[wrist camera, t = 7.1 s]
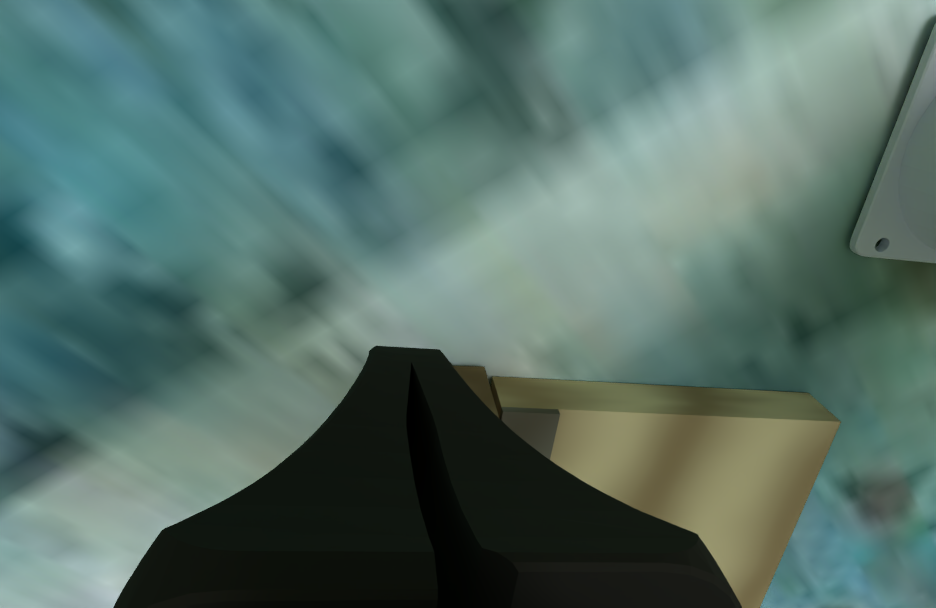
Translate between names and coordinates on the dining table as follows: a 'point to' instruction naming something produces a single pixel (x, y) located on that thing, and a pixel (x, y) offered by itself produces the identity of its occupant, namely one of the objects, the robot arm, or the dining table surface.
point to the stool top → (685, 458)
